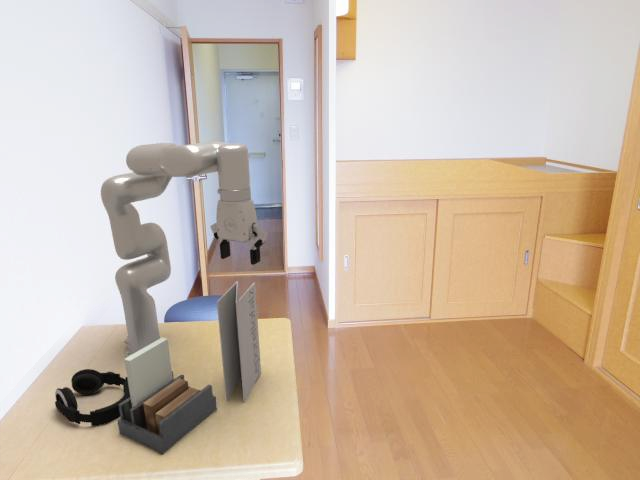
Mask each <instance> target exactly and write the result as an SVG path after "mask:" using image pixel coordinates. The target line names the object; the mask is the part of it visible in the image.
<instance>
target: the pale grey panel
mask: <svg viewBox="0 0 640 480" xmlns="http://www.w3.org/2000/svg"><path fill="white" fill-rule="evenodd" d="M170 354H171V353H170V346H169V340H168V338H165V337H160V339H158V340H157V341H155V342H153V343H151V344H150V345H148V346H146V347H144V348H143V349H141V350H139V351H137V352H136V353H134V354H132V355H130V356H129V357H127V358H126V357H125V358H124V359H123V361H124V366H125V371H126V377H127V379H128V385H129V391H130V397H131V403H132V408H133V407H134V406H136V405H137V404H139V403H140V402H142V401H143V400H145V399H146V398H147V397H149V396H150V395H152V394H153V393H155V392H156V391H158V390H159V389H161V388H162V387H163V386H165V385H166V384H168V383H169V382H171V381H172V380H173V376H174V375H173V376H172V371H173V369H172V362H171V361H172V360H171V355H170Z"/></svg>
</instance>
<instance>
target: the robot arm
mask: <svg viewBox="0 0 640 480" xmlns="http://www.w3.org/2000/svg"><path fill="white" fill-rule="evenodd" d="M125 163H126V167H128V169H129V170H130V171H131V172H129V173H127V172H126V173H122V174H117V175H113V176H112V177H108V178H107V179H105V180H104V181H103V183H102V184H101V188H100V197H101V202H102V205H103V206H104V209H105V211H106V213H107V215H108V220H109V225H110V229H111V235H112V240H113V246H114V250H115V253H116V255H117V256H118V258H120V259H121V260H123V261H124V260H127V261H128V260H133V259H136V258H140V257H143V256H145V255H146V257H143V258H141V259H137V260H134V261H131V262H129V263H128V262H127V263H126V264H124V265H122V266H120V267H119V268H118V269H117V270H116V272H115V274H114V279H115V285H116V286H117V289H118V292H119V294H120V298H121V302H122V306H123V308H122V309H123V312H124V319H125V324H126V330H127V336H126V337H127V338H125V339H124V340H123V342H124V343H125V344H127V347H128V348H127V350H126V351H125V358H127V357H129V356H130V355H132V354H134V353H136V352H137V351H139V350H141V349H143V348H144V347H146V346H148V345H150V344H151V343H153V342H155V341H157V340H158V339H160V338H161V337H160V330H159V323H158V314H157V307H156V301H155V299H154V297H153V296H152V295H150V294H149V292H148V289H150V288H152V287H154V286H156V285H159V284H162V283H163V282H166V281H167V280H168V279H169V278H170V276H171V271H172V268H171V267H172V266H171V261H170V259H171V258H170V252H169V247H168V241H167V237H166V233H165V231H164V230H163V228H162V227H161V226H160V225H159V224H157V223H155V222H145V223H142V224H141V218H140V214H139V212H138V211H139V210H138V209H136V207H135V206H134V204H132V203H135V202H139V201H140V202H141V201H145V200H150V199H154V198H157V197H159V196H161V195H163V193H165V191H166V189H167V188H168V186H169V184H170V182H171V180H172V178H180V177H182V178H183V177H184V178H185V177H188V178H189V177H196V176H200V175H205V174H211V173H217V174H218V175H217V177H218V187H219V188H218V189H217V194H218V195H219V199H218V200H217V206H216V215H215V216H216V222H215V223H213V224H211V225H210V229H211V231H212V234H213V237H214V238H215V239H216V242H217V244H218V245H219V253H220V260H224V259H226V258H227V259H228V258H229V257H230V256H231V255H232V254H231V244H230V241H231V242H237V243H247V244H248V245H249V246H250V248H251V249H250V250H249V255H250V256H249V258H250V259H249V260H250V264H251V266H254V265H256V264H258V263H260V262H261V248H262V247H263V245H264V244H265V243H266V240H267V237H268V231H266V230H264V229H263V228H262V227H261V226H259V225H258V216H257V213H256V206H255V204H254V203H255V202H254V200H253V199H252V191H251V190H252V189H251V178H250V177H251V175H250V161H249V149H248V147H247V145H246V144H243V143H237V142H235V143H228V142H224V141H221V140H220V141H219V140H215V141H214V140H213V141H204V142H197V143H191V144H190V143H189V144H181V145H180V144H179V145H177V144H175V143H172V142H160V143H159V142H157V143H150V144H149V143H148V144H139V145H136V146H135V147H132V148H131V149H130V150H129V151H128V153H127V154H126V157H125ZM258 236H259V238H258Z"/></svg>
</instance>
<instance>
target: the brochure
mask: <svg viewBox="0 0 640 480" xmlns="http://www.w3.org/2000/svg"><path fill="white" fill-rule="evenodd" d="M256 289H257V288H256V282H253V283H252V284H251V285H250V286H249V287H248V288H247V290H246V291H245V292H244V293H243V294H242V295H241V296H240V292H239V281H238V280H236V282H235V283H234V284H233V285H232V286H231V287H230V288H229V289H227V291H226V292H225V293H224V294H223V295H222V296H221V297H220V298H219V299H218V300H217V301H216V308H217V309H216V310H217V319H218V328H219V329H218V330H219V331H218V332H219V343H220V352H221V353H220V354H221V360H222V361H221V363H222V373H223V382H224V383H223V384H224V393H225V402H227V401H228V400H229V398H230V397H231V395H232V394H233V393H234V390H235V389H236V387H237V385H238V384H239V383H240V381H241V385H242V386H241V387H242V397H243V398H242V399H243V404H245V403H246V402H247V400H248V398H249V396H250V394H251V393H252V391H253V389H254V388H255V386H256V384H257V382H258V381H259V378H260V377H261V375H262V368H261V367H262V366H261V353H260V352H261V350H260V336H259V335H260V334H259V318H258V307H257V291H256Z"/></svg>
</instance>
